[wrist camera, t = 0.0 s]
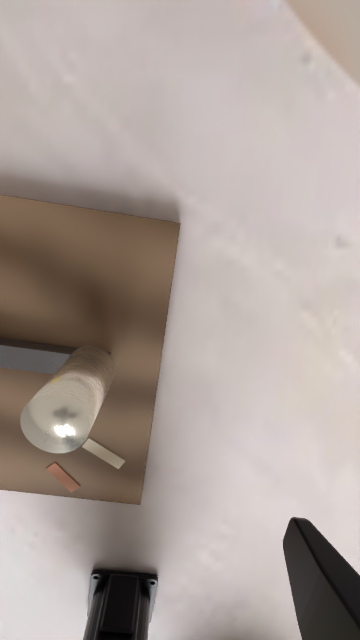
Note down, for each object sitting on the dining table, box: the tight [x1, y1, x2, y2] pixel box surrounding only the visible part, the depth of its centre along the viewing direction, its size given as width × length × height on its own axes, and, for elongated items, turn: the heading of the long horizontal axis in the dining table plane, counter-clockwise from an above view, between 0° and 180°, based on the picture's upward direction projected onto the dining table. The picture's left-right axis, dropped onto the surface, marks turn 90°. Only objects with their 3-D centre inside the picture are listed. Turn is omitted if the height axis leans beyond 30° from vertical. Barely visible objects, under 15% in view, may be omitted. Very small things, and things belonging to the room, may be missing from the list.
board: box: [0, 195, 180, 505], centre depth 22 cm, size 23×21×1 cm
